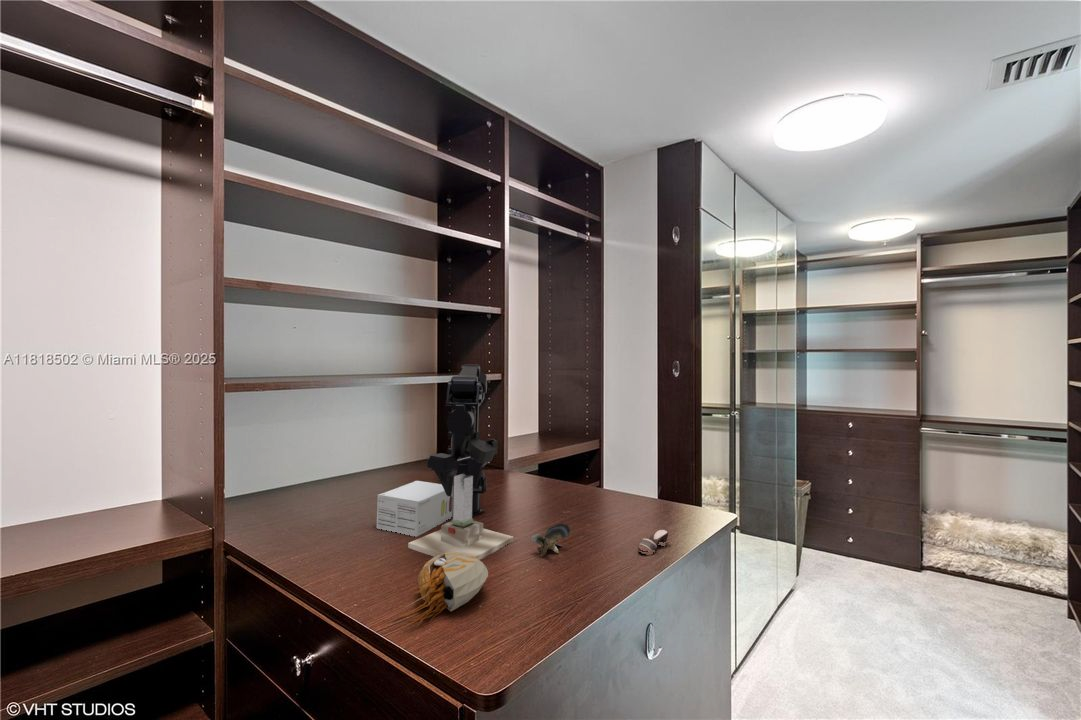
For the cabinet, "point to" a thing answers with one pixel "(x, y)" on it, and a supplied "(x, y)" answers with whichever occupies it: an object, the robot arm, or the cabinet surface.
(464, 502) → the steel post
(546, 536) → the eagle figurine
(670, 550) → the cabinet surface
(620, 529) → the cabinet surface
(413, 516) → the supplement box
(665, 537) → the heeled mule
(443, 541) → the birch stand
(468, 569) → the nautilus
